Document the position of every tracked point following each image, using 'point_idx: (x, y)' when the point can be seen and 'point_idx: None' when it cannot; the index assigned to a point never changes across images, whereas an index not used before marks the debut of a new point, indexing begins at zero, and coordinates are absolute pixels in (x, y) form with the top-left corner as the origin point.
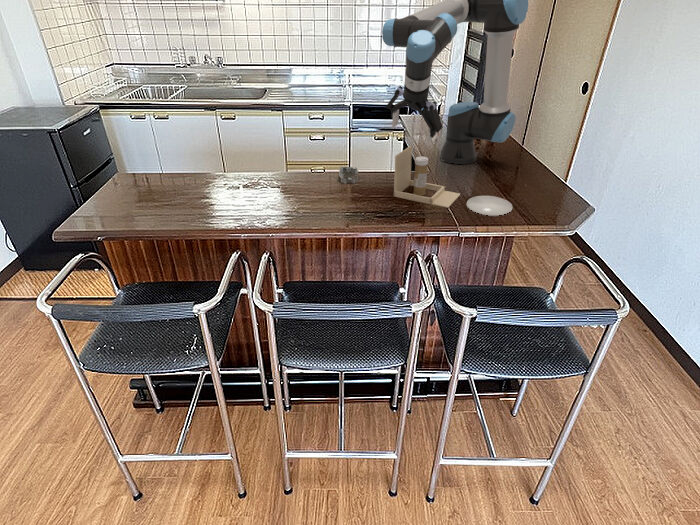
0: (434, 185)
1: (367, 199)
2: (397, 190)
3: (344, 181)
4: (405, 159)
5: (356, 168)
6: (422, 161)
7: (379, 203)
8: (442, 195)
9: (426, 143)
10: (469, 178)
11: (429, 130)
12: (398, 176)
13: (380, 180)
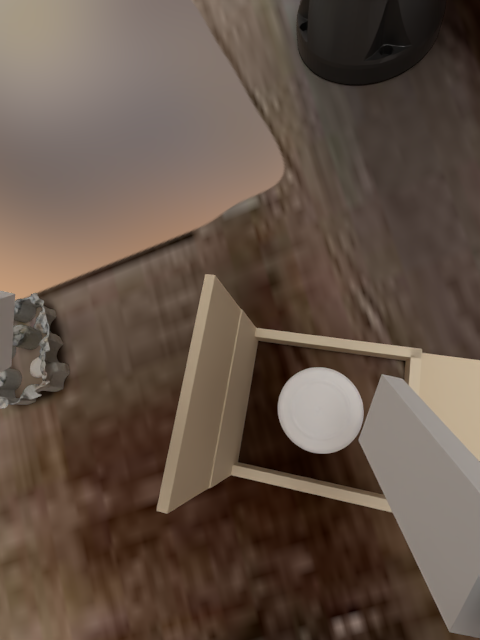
0: (371, 352)
1: (138, 531)
2: (234, 457)
3: (23, 403)
4: (214, 373)
5: (36, 296)
6: (336, 451)
7: (192, 559)
8: None
9: (363, 443)
10: (474, 184)
11: (473, 630)
12: (218, 459)
13: (143, 331)
